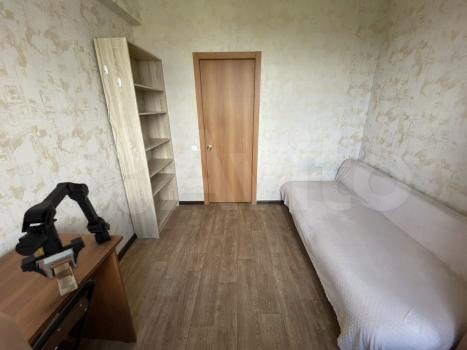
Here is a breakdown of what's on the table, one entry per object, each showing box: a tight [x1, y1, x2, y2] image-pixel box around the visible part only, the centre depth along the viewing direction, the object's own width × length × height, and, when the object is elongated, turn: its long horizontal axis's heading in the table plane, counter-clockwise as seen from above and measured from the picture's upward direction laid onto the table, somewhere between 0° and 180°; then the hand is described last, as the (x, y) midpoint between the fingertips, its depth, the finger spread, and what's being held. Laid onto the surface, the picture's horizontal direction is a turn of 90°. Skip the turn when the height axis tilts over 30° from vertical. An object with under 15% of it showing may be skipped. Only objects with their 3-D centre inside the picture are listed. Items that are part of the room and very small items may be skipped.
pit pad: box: [50, 256, 71, 266], centre depth 103 cm, size 10×3×1 cm, turn 136°
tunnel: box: [43, 249, 78, 279], centre depth 96 cm, size 10×8×8 cm
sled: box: [53, 262, 79, 297], centre depth 89 cm, size 6×18×6 cm, turn 46°
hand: (61, 269), depth 82 cm, fingers open, 9 cm apart
